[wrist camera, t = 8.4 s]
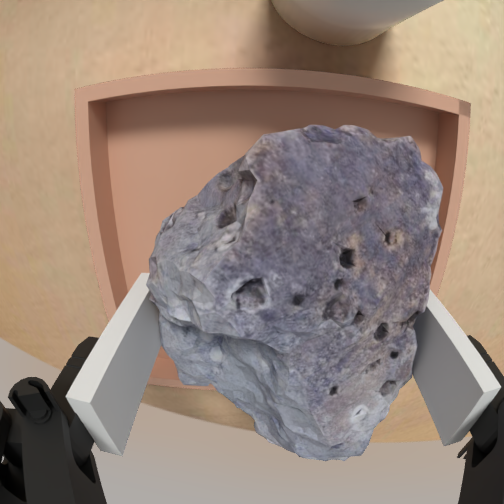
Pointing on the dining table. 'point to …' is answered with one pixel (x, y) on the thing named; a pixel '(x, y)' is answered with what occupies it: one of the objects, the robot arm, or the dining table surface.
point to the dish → (231, 152)
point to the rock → (302, 283)
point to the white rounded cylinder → (347, 17)
